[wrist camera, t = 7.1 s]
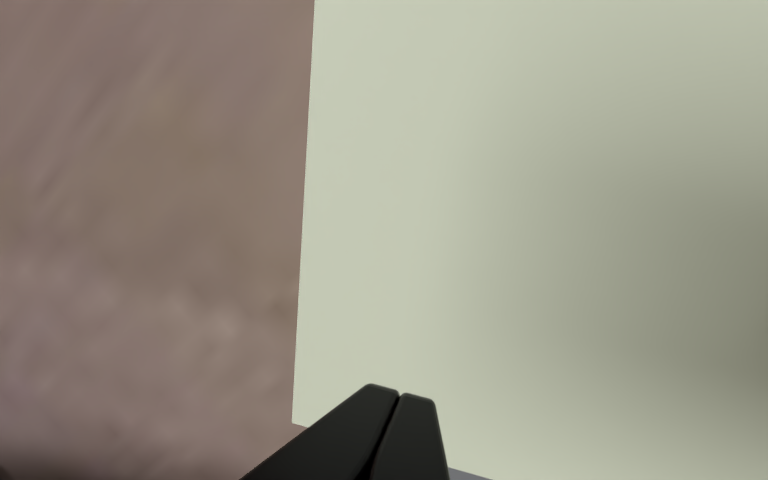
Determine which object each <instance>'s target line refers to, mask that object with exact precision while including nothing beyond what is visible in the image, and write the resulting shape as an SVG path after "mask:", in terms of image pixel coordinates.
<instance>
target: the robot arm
mask: <svg viewBox="0 0 768 480" xmlns="http://www.w3.org/2000/svg"><path fill="white" fill-rule="evenodd" d="M239 480H450V475H449V470H448V465H447V460H446V455H445V450H444V445H443V440H442V435H441V430H440V425H439V420H438V415H437V410H436V405H435V403H434V401H433V400H432V399H430V398H426V397H422V396H419V395H415V394H411V393H407V392H405V393H403V394H402V395H401V396H400V394H399V392H398V391H397V390H396V389H392V388H389V387H385V386H381V385H377V384H374V383H369V384H366V385H364V386H363V387H362V388H360V389H359V390H358V391H356V392H355V393H354V394H352V395H351V396H350V397H348V398H347V399H346V400H344V401H343V402H342V403H340V404H339V405H338V406H336V407H335V408H334V409H332V410H331V411H330V412H328V413H327V414H326V415H324V416H323V417H322V418H320V419H319V420H318V421H316V422H315V423H314V424H312V425H311V426H310V427H308V428H307V429H306V430H304V431H303V432H302V433H300V434H299V435H298V436H296V437H295V438H294V439H292V440H291V441H290V442H288V443H287V444H286V445H284V446H283V447H282V448H280V449H279V450H278V451H276V452H275V453H274V454H273V455H271V456H270V457H269V458H267V459H266V460H265V461H263V462H262V463H261V464H259V465H258V466H257V467H255V468H254V469H253V470H251V471H250V472H249V473H247V474H246V475H245V476H243V477H242V478H241V479H239Z"/></svg>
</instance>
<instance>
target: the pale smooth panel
mask: <svg viewBox="0 0 768 480" xmlns="http://www.w3.org/2000/svg"><path fill="white" fill-rule="evenodd" d="M369 383H374V384H377V385H381V386H385V387H389V388H392V389H396V390H397V391H398V392H399V394H400V396H401V395H402V394H403V393H405V392H407V393H411V394H415V395H419V396H422V397H426V398H430V399H432V400H433V401H434V403H435V405H436V410H437V415H438V420H439V425H440V430H441V435H442V440H443V445H444V450H445V455H446V460H447V465H448V467H450V468H453V469H457V470H460V471H464V472H467V473H471V474H474V475H478V476H481V477H485V478H488V479H492V480H768V0H315V8H314V26H313V44H312V63H311V81H310V99H309V117H308V136H307V154H306V172H305V191H304V209H303V227H302V246H301V264H300V282H299V301H298V319H297V337H296V356H295V374H294V392H293V410H292V423H294V424H298V425H302V426H305V427H310V426H311V425H312V424H314V423H315V422H316V421H318V420H319V419H320V418H322V417H323V416H324V415H326V414H327V413H328V412H330V411H331V410H332V409H334V408H335V407H336V406H338V405H339V404H340V403H342V402H343V401H344V400H346V399H347V398H348V397H350V396H351V395H352V394H354V393H355V392H356V391H358V390H359V389H360V388H362V387H363V386H364V385H366V384H369Z"/></svg>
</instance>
